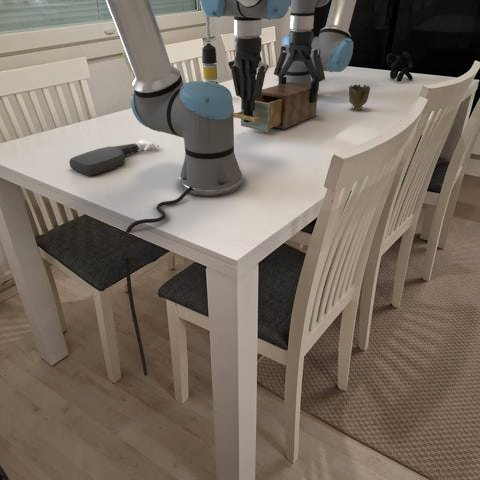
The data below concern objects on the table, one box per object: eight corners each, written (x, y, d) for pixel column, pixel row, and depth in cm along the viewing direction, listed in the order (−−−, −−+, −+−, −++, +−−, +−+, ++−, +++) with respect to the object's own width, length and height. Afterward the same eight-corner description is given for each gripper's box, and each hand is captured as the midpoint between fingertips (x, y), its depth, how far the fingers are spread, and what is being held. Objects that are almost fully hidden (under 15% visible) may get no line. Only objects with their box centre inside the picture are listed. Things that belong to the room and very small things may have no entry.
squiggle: (400, 92, 202) (376, 71, 205) (417, 76, 202) (392, 56, 205) (405, 81, 191) (380, 59, 194) (423, 64, 191) (397, 42, 194)
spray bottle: (67, 168, 120) (139, 144, 136) (91, 178, 114) (163, 151, 130) (65, 157, 118) (137, 134, 134) (89, 167, 112) (162, 142, 128)
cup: (344, 110, 161) (346, 87, 157) (349, 105, 167) (352, 83, 162) (364, 113, 158) (367, 90, 154) (369, 107, 164) (372, 85, 159)
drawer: (255, 136, 133) (256, 107, 128) (229, 129, 138) (229, 102, 134) (299, 118, 150) (301, 93, 146) (274, 113, 155) (275, 89, 151)
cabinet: (283, 128, 143) (285, 96, 138) (255, 122, 149) (256, 91, 143) (315, 116, 157) (318, 85, 152) (288, 110, 163) (290, 81, 157)
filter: (220, 99, 177) (217, 15, 161) (206, 100, 176) (202, 16, 160) (215, 96, 182) (212, 14, 166) (202, 97, 180) (197, 14, 164)
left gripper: (275, 36, 122) (272, 121, 135) (237, 33, 129) (239, 114, 142) (259, 40, 117) (258, 128, 130) (221, 36, 124) (223, 120, 137)
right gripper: (340, 31, 139) (333, 102, 150) (277, 26, 152) (275, 92, 163) (328, 34, 134) (322, 107, 145) (264, 29, 147) (263, 96, 158)
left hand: (248, 121), depth 136 cm, fingers closed
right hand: (297, 99), depth 154 cm, fingers closed on cabinet, 11 cm apart
